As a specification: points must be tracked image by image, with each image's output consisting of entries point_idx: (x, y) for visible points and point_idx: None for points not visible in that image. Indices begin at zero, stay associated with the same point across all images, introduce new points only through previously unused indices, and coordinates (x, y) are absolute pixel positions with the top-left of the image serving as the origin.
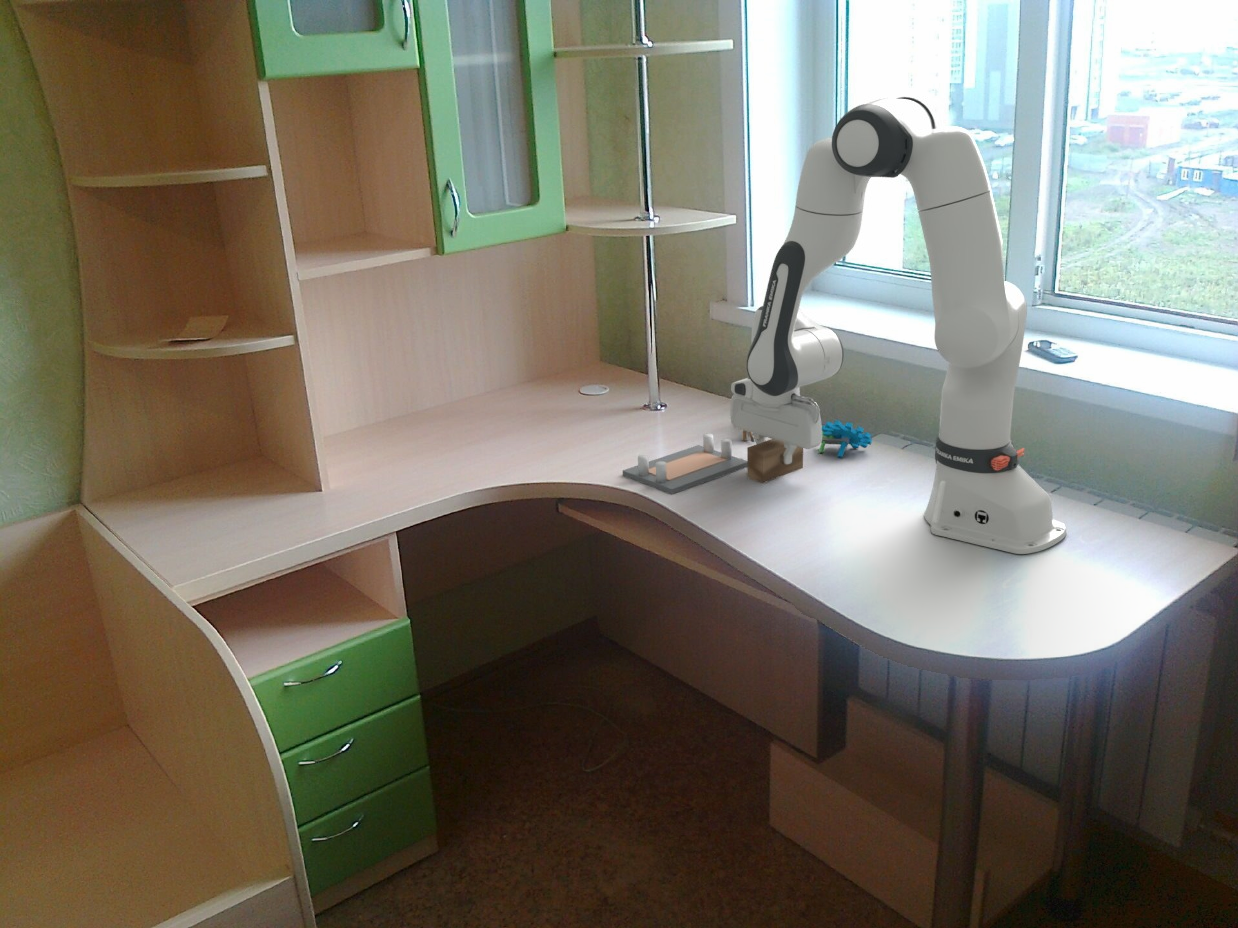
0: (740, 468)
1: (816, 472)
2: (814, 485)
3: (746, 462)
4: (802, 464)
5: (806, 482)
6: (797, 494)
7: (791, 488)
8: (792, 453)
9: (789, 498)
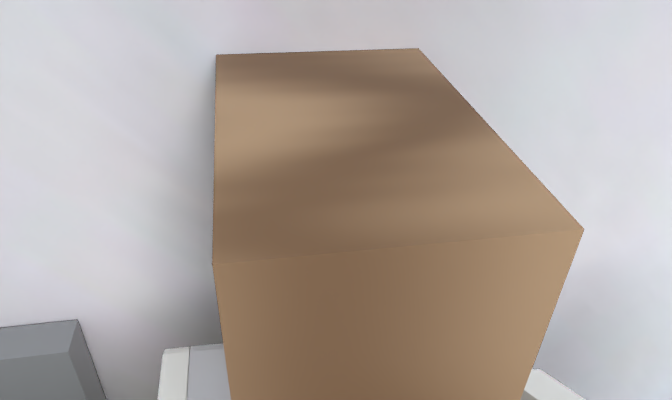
0: (96, 381)
1: (573, 49)
2: (651, 229)
3: (74, 365)
4: (427, 64)
5: (587, 231)
6: (611, 352)
7: (549, 333)
8: (546, 380)
9: (596, 393)
